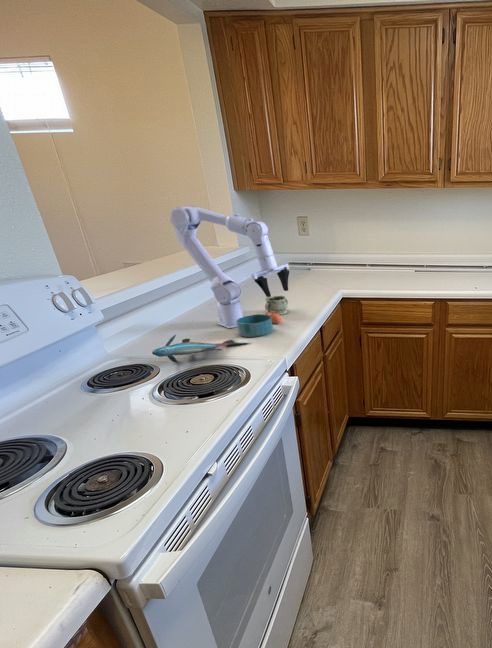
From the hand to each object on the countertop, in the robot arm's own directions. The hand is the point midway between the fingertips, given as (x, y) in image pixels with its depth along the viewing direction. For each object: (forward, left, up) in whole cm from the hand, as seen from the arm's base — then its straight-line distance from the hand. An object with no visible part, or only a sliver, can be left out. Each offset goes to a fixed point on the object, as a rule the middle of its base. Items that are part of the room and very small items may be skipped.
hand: (277, 293), depth 154 cm
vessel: (-16, +9, -12) cm, 22 cm away
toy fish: (-5, 0, -12) cm, 13 cm away
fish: (+9, -34, -12) cm, 37 cm away
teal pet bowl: (+1, -11, -12) cm, 17 cm away
